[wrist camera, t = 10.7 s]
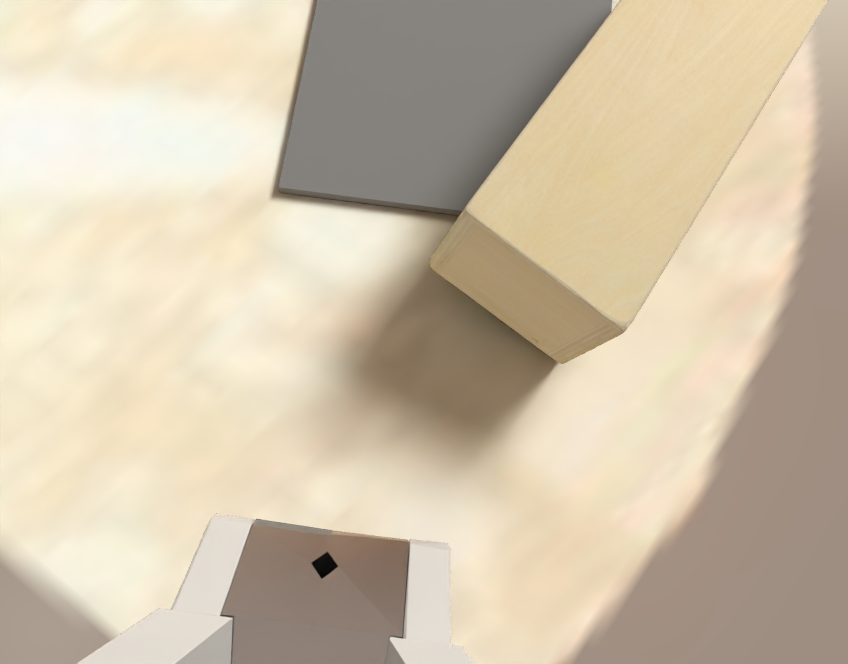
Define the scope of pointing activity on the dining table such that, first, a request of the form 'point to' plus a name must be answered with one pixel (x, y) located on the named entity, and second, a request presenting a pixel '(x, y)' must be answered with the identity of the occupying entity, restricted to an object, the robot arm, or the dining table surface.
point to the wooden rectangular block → (619, 166)
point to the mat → (424, 94)
